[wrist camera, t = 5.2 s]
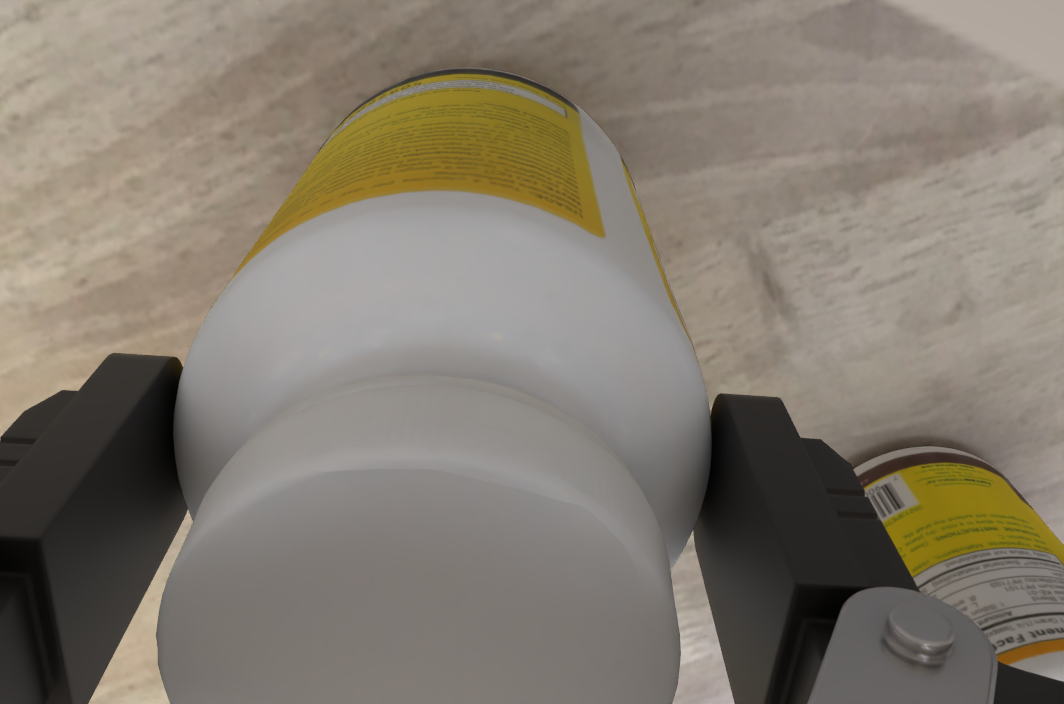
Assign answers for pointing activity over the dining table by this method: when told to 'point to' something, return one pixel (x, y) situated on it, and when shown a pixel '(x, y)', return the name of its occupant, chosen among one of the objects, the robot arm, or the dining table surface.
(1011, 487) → the supplement bottle
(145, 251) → the dining table surface
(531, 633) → the pill bottle
